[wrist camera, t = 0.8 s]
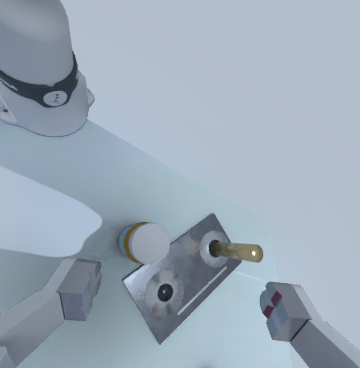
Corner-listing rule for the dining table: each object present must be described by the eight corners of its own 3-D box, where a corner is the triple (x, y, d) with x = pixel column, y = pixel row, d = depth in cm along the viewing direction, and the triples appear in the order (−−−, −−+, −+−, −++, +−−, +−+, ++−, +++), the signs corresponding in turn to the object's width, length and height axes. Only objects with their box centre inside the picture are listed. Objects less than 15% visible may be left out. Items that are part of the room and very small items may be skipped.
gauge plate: (122, 279, 40) (135, 303, 26) (211, 213, 52) (252, 206, 38) (158, 341, 40) (190, 398, 26) (239, 260, 52) (289, 270, 38)
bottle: (151, 226, 45) (175, 223, 32) (146, 258, 43) (169, 269, 29) (121, 222, 42) (133, 217, 29) (115, 255, 40) (124, 266, 27)
